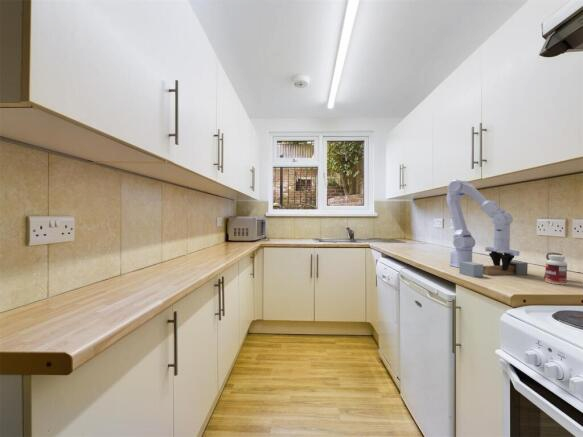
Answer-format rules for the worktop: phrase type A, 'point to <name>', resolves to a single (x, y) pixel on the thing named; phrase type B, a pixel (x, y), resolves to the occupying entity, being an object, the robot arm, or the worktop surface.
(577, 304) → the worktop surface
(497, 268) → the slat
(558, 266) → the pill bottle
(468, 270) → the blue-grey block
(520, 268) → the end cap fixed
